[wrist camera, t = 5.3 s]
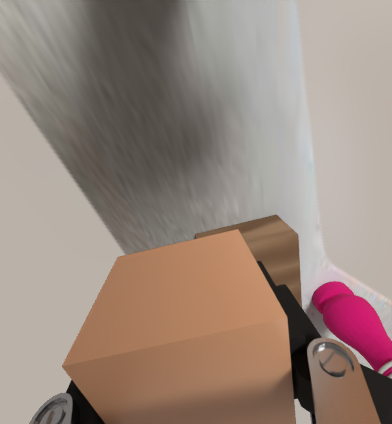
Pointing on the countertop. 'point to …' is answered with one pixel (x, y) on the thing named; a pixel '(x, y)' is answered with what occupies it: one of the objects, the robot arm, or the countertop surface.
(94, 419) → the robot arm
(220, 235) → the cardboard-colored cube
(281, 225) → the post block
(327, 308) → the pepper mill
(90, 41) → the countertop surface
